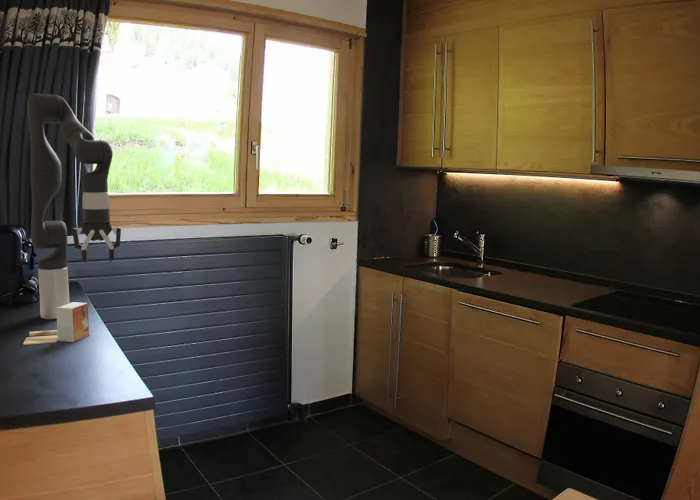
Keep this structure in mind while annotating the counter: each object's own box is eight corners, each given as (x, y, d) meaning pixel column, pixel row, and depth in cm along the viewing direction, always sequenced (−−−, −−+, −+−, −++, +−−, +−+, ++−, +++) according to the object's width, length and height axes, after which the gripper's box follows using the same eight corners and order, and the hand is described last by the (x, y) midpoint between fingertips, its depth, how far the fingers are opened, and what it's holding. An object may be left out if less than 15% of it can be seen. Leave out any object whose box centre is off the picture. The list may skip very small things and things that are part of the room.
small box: (73, 342, 187) (72, 308, 186) (57, 341, 189) (55, 307, 187) (90, 335, 195) (88, 302, 194) (74, 334, 196) (72, 301, 195)
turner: (28, 337, 192) (28, 334, 191) (30, 333, 196) (30, 330, 196) (78, 333, 197) (78, 330, 197) (78, 329, 201) (78, 326, 201)
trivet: (26, 338, 191) (26, 337, 191) (58, 336, 194) (58, 334, 194) (23, 345, 184) (23, 343, 184) (56, 342, 187) (56, 341, 187)
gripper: (121, 205, 195) (123, 258, 197) (70, 206, 190) (73, 260, 192) (121, 207, 188) (123, 262, 190) (69, 208, 183) (71, 264, 185)
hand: (98, 261), depth 191 cm, fingers open, 6 cm apart
